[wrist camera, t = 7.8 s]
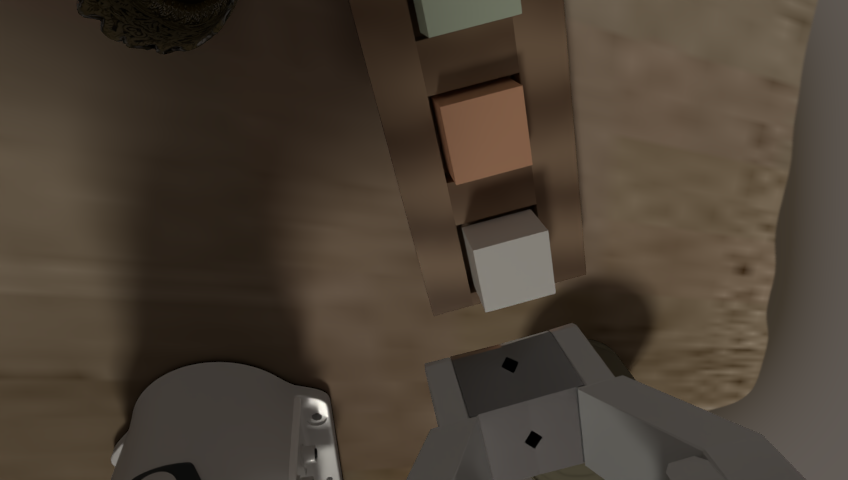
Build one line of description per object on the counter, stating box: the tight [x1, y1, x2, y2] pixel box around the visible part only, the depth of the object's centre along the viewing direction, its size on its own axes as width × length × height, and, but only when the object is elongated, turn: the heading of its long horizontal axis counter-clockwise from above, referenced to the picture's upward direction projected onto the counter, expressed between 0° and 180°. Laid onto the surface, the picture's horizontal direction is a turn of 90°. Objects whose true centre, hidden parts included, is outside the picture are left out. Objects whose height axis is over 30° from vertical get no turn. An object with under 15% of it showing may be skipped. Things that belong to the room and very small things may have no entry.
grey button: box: [462, 209, 556, 312], centre depth 35 cm, size 5×5×4 cm
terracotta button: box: [431, 76, 533, 185], centre depth 32 cm, size 5×5×4 cm
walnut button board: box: [349, 0, 586, 316], centre depth 33 cm, size 26×12×3 cm, turn 13°
